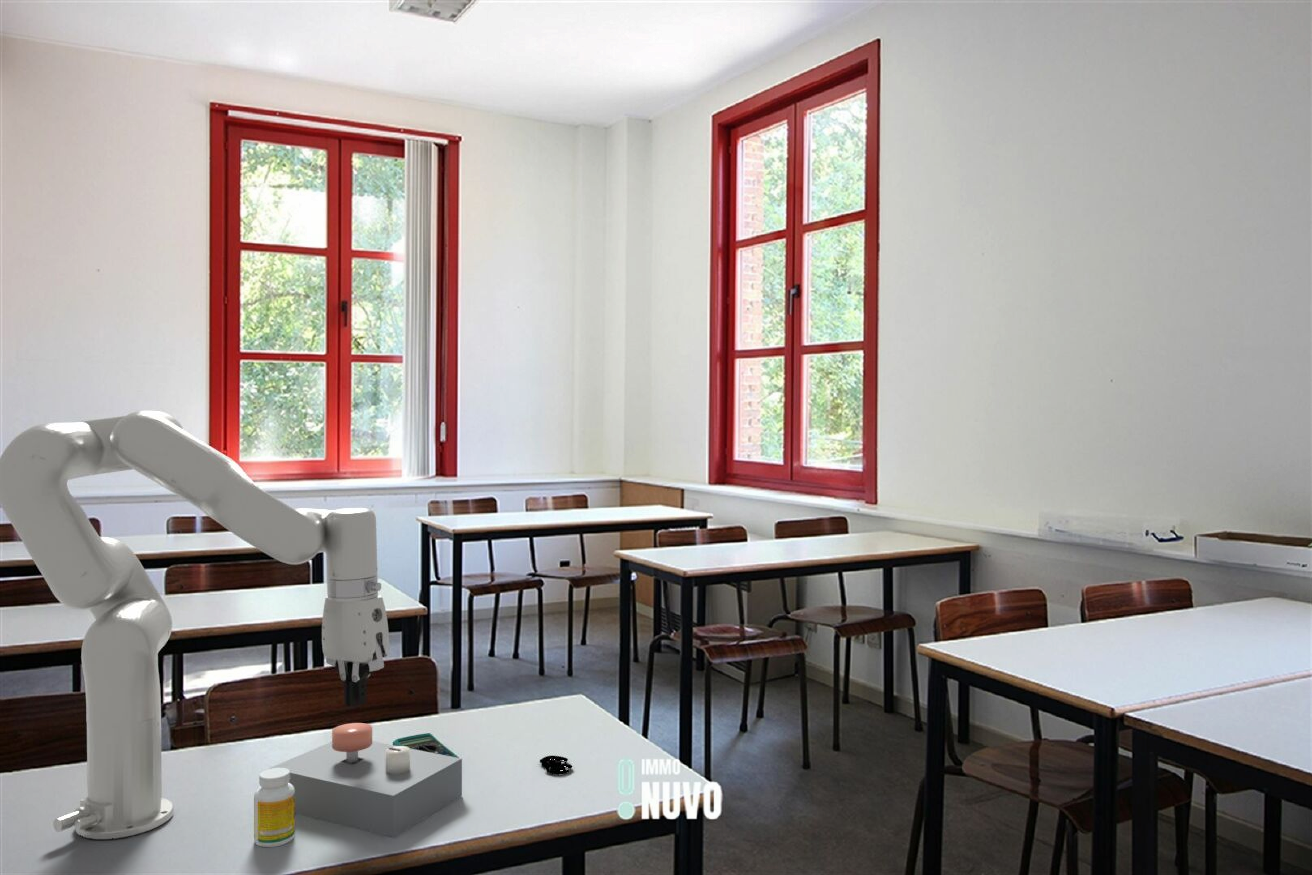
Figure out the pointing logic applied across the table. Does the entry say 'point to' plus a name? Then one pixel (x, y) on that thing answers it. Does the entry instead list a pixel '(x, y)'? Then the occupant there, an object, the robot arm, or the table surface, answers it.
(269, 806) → the supplement bottle
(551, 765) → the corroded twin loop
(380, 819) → the box
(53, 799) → the table surface
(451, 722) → the table surface
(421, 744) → the digital multimeter
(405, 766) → the knob
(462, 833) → the table surface
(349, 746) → the button
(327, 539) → the robot arm
